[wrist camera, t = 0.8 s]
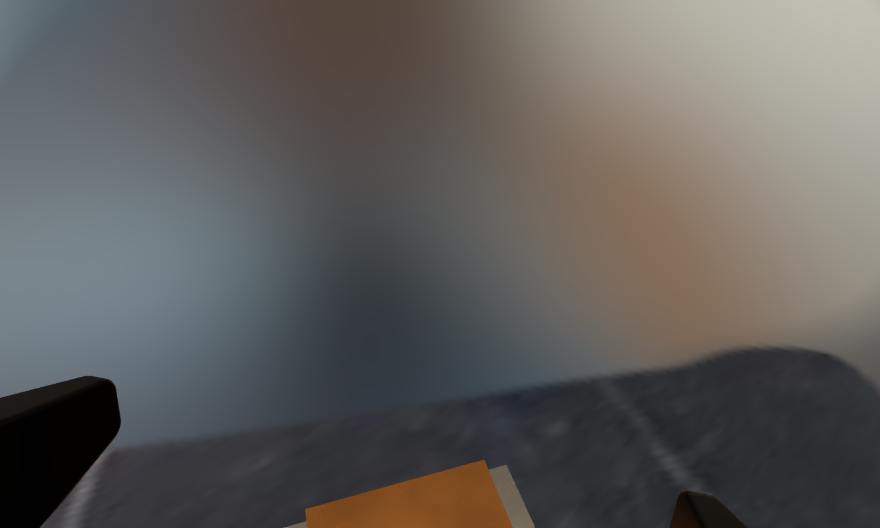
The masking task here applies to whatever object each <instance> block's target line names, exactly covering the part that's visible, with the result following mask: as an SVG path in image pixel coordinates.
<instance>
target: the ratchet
mask: <svg viewBox="0 0 880 528" xmlns="http://www.w3.org/2000/svg"><path fill="white" fill-rule="evenodd" d="M305 510H306V522H302V523H299V524H295V525H292V526H288V527H285V528H535V526H534V524H533V522H532V520H531V518H530V516H529V513H528V511H527V509H526V507H525V505H524V502H523V500H522V498H521V496H520V494H519V492H518V489H517V487H516V485H515V483H514V481H513V478H512V476H511V474H510V472H509V470H508V468H507V465H504V466H500V467H497V468H493V469H490V470H488V468H487V465H486V463H485V460H482V461H478V462H474V463H471V464H467V465H463V466H460V467H456V468H453V469H449V470H445V471H442V472H438V473H435V474H431V475H427V476H424V477H420V478H416V479H413V480H409V481H406V482H402V483H398V484H395V485H391V486H388V487H384V488H380V489H377V490H373V491H369V492H366V493H362V494H359V495H355V496H351V497H348V498H344V499H341V500H337V501H333V502H330V503H326V504H322V505H319V506H315V507H312V508H308V509H305Z"/></svg>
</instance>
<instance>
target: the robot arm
mask: <svg viewBox="0 0 880 528" xmlns="http://www.w3.org/2000/svg"><path fill="white" fill-rule="evenodd" d="M120 425H121V418H120V412H119V405H118V399H117V392H116V387H115V385H114V383H113V382H112V381H110V380H109V379H105V378H99V377H94V376H83V377H79V378H75V379H72V380H68V381H64V382H60V383H56V384H52V385H49V386H45V387H40V388H37V389H33V390H29V391H25V392H21V393H18V394H14V395H9V396H6V397H2V398H0V528H40V527H41V526H42V525H43V524H44V523H45V522H46V520H47V519H48V518H49V517H50V516H51V515H52V514H53V512H54V511H55V510H56V509H57V508H58V507H59V505H60V504H61V503H62V502H63V501H64V499H65V498H66V497H67V496H68V494H69V493H70V492H71V491H72V489H73V488H74V487H75V486H76V485H77V483H78V482H79V481H80V480H81V478H82V477H83V476H84V475H85V474H86V472H87V471H88V470H89V469H90V467H91V466H92V465H93V464H94V463H95V461H96V460H97V459H98V458H99V456H100V455H101V454H102V453H103V452H104V450H105V449H106V448H107V447H108V445H109V444H110V443H111V442H112V441H113V439H114V438H115V436H116V435H117V433H118V431H119V428H120ZM670 528H747V527H746V526H745V525H744V524H743V523H742V522H741V521H740V520H739V519H738V518H737V517H736V516H735V515H734V514H733V513H732V512H731V511H730V510H729V509H728V508H727V507H725V506H724V505H723V504H722V503H721V502H720V501H719V500H718V499H717V498H715V497H714V496H711V495H707V494H702V493H697V492H691V491H684V492H682V493H681V494H680V495H679V497H678V499H677V503H676V507H675V510H674V514H673V517H672V521H671V525H670Z"/></svg>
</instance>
